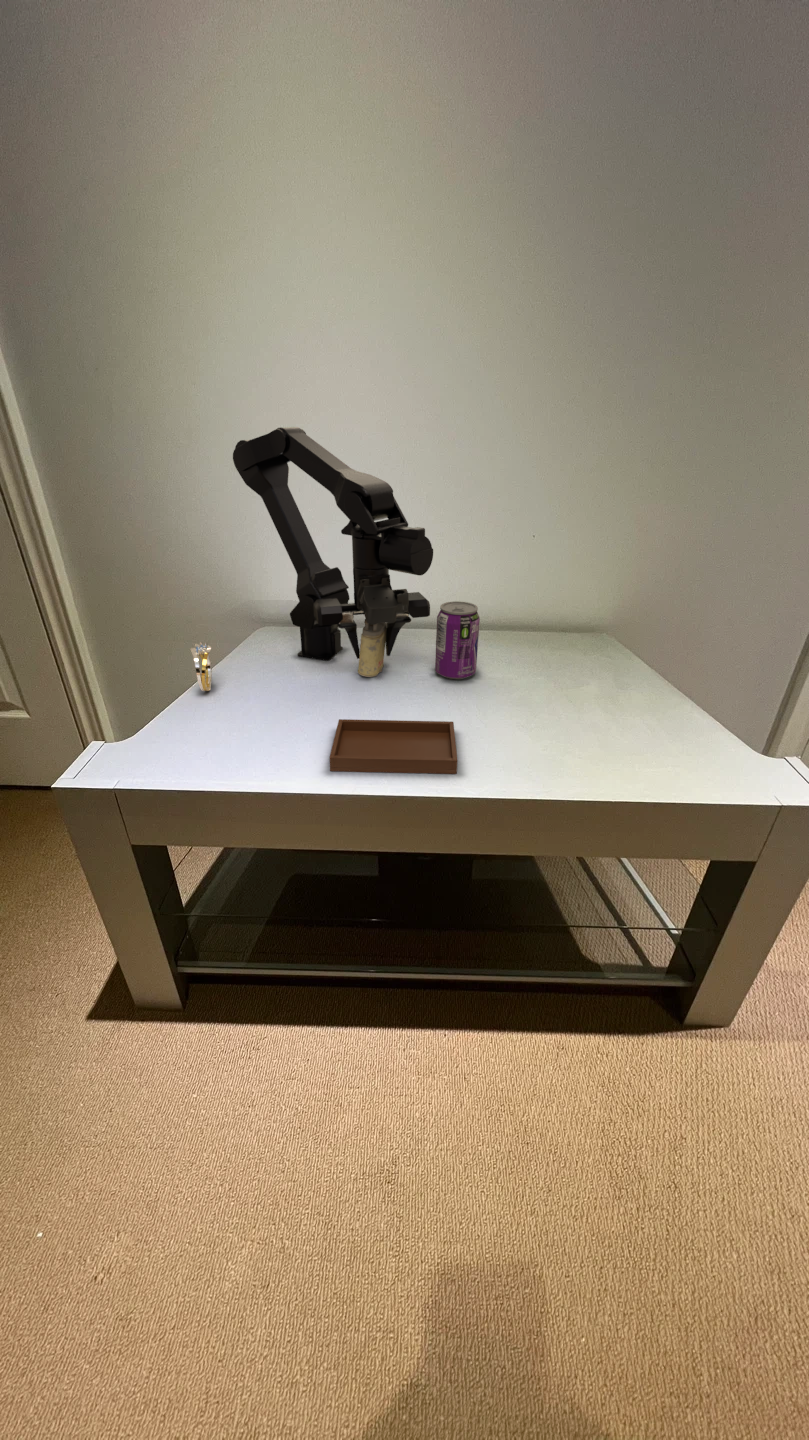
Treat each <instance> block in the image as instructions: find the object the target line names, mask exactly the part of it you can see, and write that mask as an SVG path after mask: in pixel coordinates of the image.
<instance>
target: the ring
mask: <svg viewBox="0 0 809 1440" xmlns="http://www.w3.org/2000/svg"><path fill="white" fill-rule="evenodd" d="M211 650H212V646H211V645H208V642H204V644H203V641H199V644H198V643H195V645H194V646H192V647H190V651H191V654H192V658H193V661H194V667H195V673H196V679H197V683H198V686H199V689H200V690H201V691H202V692H209V691H211V689H212V688H211V687H212V681H213V671H212V659H211V653H210V652H211ZM199 657H200V658H199ZM200 659H201V661H202V664H201V662H200ZM201 665H202V666H201Z"/></svg>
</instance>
